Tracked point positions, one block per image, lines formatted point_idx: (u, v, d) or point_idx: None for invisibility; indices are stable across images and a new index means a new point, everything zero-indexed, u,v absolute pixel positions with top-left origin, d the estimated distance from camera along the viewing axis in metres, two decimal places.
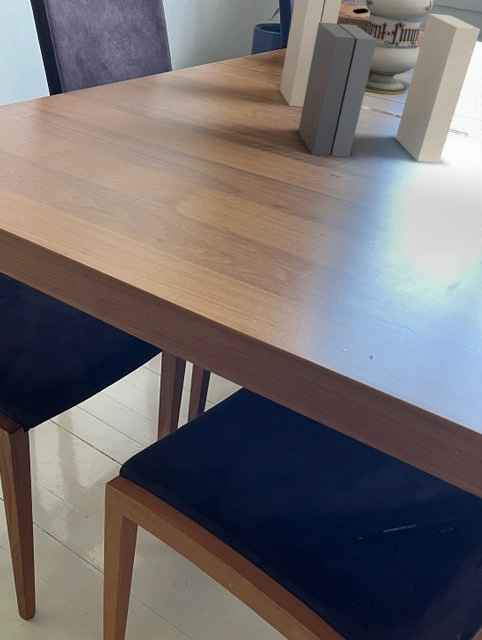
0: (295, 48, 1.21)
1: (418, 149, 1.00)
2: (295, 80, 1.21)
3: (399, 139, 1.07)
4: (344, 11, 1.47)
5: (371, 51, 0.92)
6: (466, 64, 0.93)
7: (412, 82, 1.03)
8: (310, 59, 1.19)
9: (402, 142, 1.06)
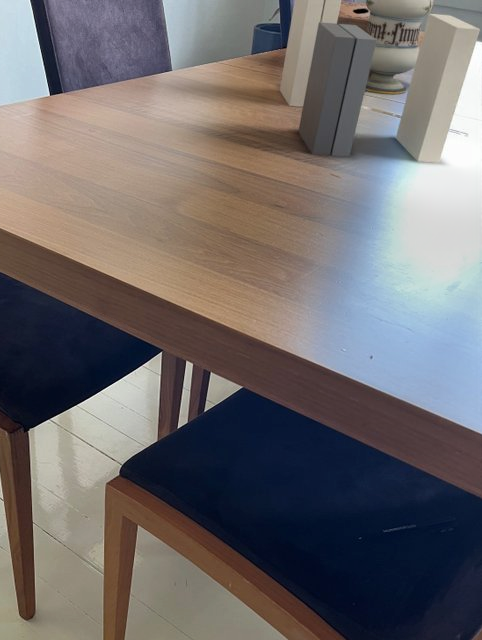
0: (295, 48, 1.21)
1: (418, 149, 1.00)
2: (295, 80, 1.21)
3: (399, 139, 1.07)
4: (344, 11, 1.47)
5: (371, 51, 0.92)
6: (466, 64, 0.93)
7: (412, 82, 1.03)
8: (310, 59, 1.19)
9: (402, 142, 1.06)
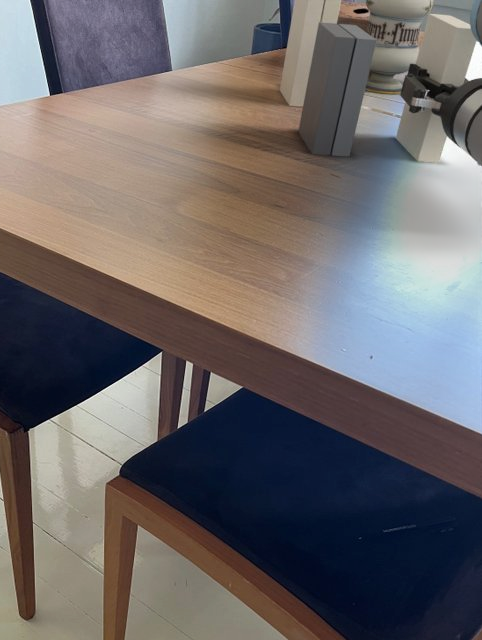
0: (295, 48, 1.21)
1: (418, 149, 1.00)
2: (295, 80, 1.21)
3: (399, 139, 1.07)
4: (344, 11, 1.47)
5: (371, 51, 0.92)
6: (466, 64, 0.93)
7: None
8: (310, 59, 1.19)
9: (402, 142, 1.06)
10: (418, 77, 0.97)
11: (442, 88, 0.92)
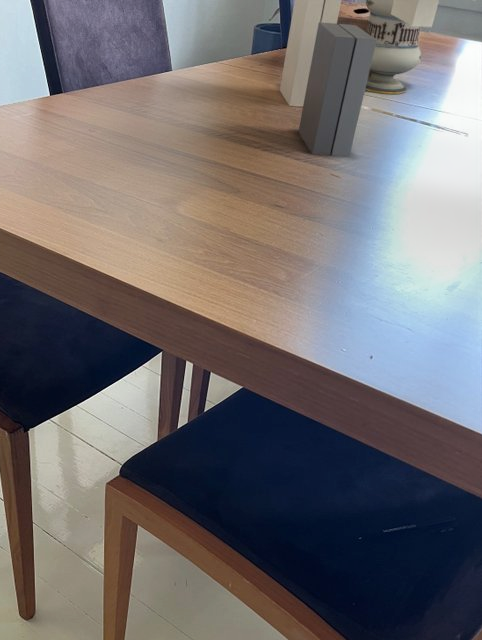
0: (295, 48, 1.21)
1: (413, 8, 1.06)
2: (295, 80, 1.21)
3: (395, 7, 1.13)
4: (345, 11, 1.47)
5: (371, 51, 0.92)
6: None
7: None
8: (310, 59, 1.19)
9: (398, 8, 1.12)
10: None
11: None
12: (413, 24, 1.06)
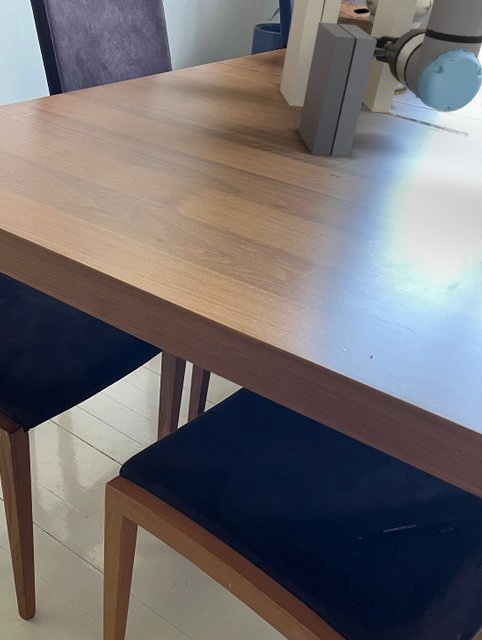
0: (295, 48, 1.21)
1: (373, 97, 1.24)
2: (295, 80, 1.21)
3: None
4: (345, 11, 1.47)
5: (371, 51, 0.92)
6: (409, 25, 1.16)
7: None
8: (310, 59, 1.19)
9: None
10: None
11: (384, 40, 1.14)
12: (373, 110, 1.24)
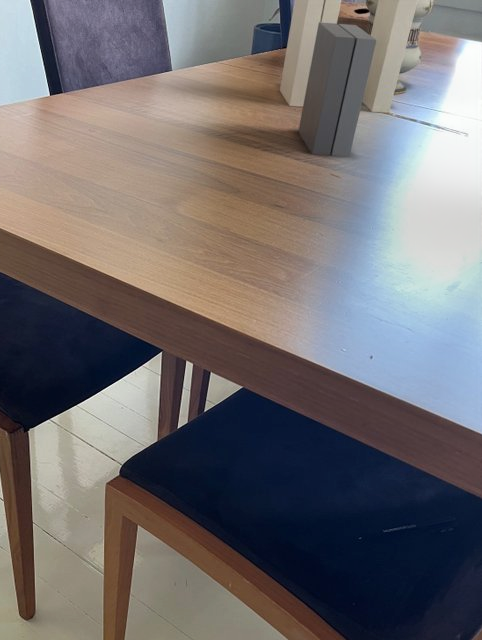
0: (295, 48, 1.21)
1: (373, 97, 1.24)
2: (295, 80, 1.21)
3: None
4: (346, 11, 1.47)
5: (371, 51, 0.92)
6: (409, 25, 1.16)
7: None
8: (310, 59, 1.19)
9: None
10: None
11: None
12: (373, 110, 1.24)
